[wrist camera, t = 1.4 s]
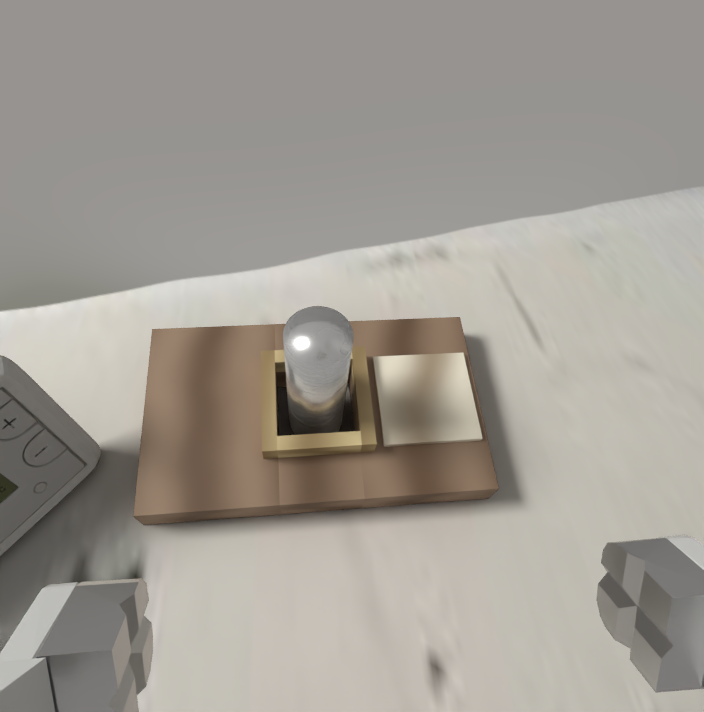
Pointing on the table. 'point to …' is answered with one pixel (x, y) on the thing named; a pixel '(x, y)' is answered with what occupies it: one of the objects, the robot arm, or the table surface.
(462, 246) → the table surface
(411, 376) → the wooden peg board
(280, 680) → the table surface
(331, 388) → the steel pin
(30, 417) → the digital clock
